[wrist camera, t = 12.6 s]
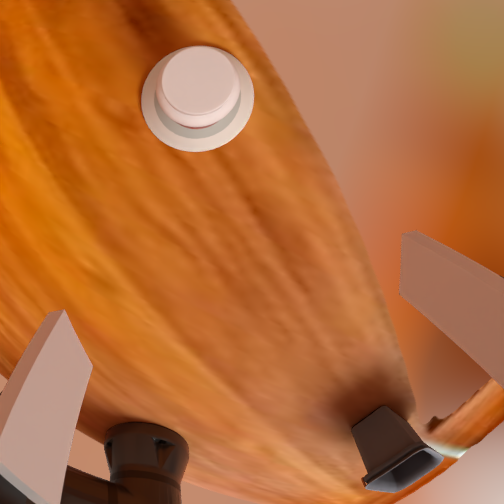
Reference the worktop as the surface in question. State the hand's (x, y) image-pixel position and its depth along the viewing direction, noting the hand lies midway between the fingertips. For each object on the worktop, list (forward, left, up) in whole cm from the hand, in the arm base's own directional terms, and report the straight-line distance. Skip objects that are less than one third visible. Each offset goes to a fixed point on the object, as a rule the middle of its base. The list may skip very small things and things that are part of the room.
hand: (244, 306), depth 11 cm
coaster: (0, +10, -22) cm, 24 cm away
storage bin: (+25, -53, -23) cm, 63 cm away
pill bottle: (0, +9, -22) cm, 24 cm away
